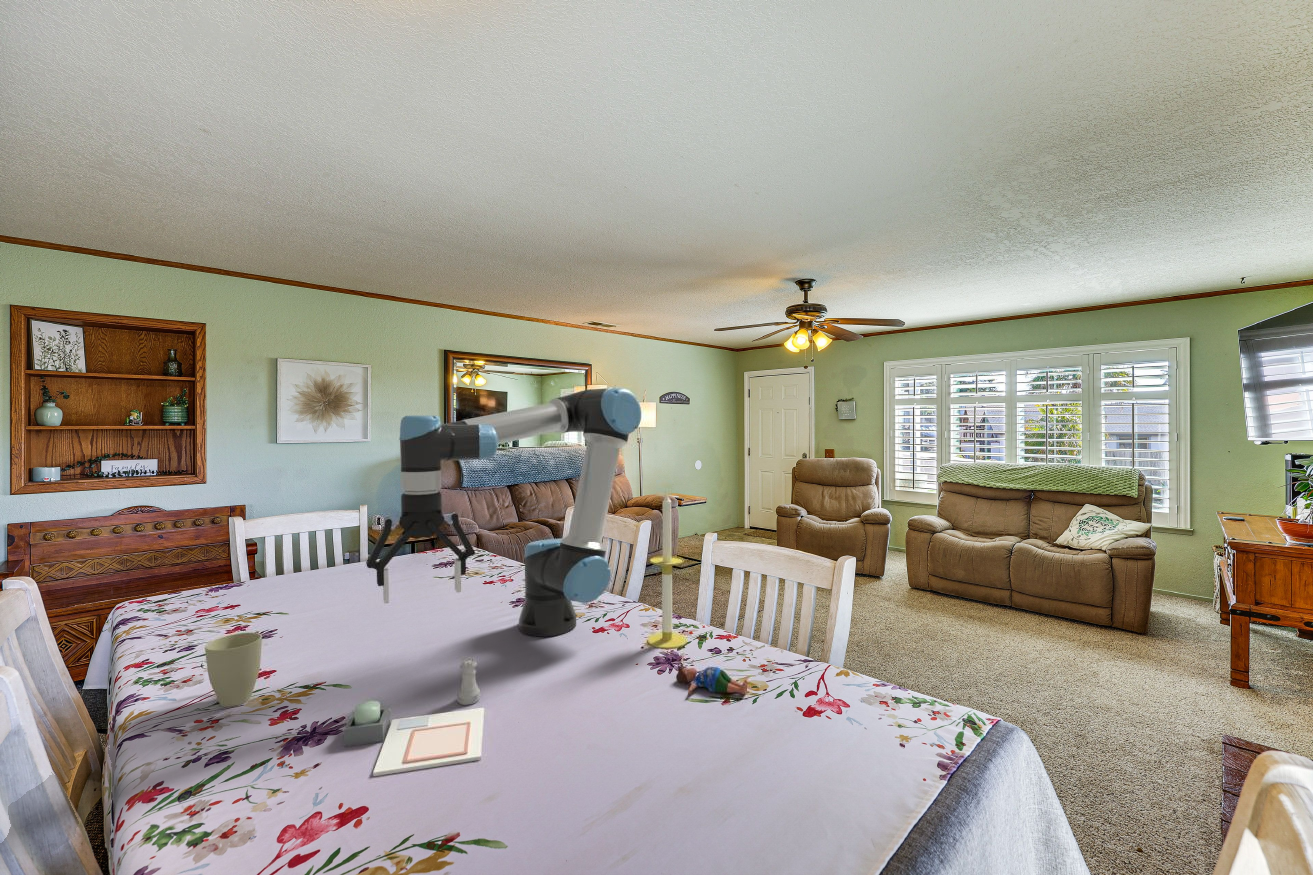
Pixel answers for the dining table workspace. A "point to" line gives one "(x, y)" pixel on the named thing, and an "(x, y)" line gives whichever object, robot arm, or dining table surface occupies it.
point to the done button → (367, 713)
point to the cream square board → (431, 741)
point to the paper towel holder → (667, 587)
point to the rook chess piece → (468, 683)
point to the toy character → (710, 680)
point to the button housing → (366, 730)
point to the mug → (234, 666)
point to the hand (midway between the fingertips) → (423, 595)
